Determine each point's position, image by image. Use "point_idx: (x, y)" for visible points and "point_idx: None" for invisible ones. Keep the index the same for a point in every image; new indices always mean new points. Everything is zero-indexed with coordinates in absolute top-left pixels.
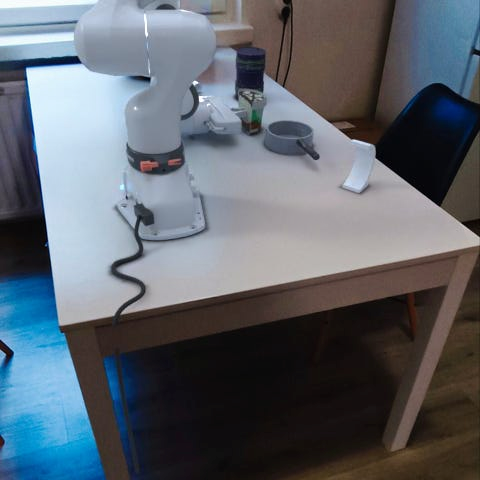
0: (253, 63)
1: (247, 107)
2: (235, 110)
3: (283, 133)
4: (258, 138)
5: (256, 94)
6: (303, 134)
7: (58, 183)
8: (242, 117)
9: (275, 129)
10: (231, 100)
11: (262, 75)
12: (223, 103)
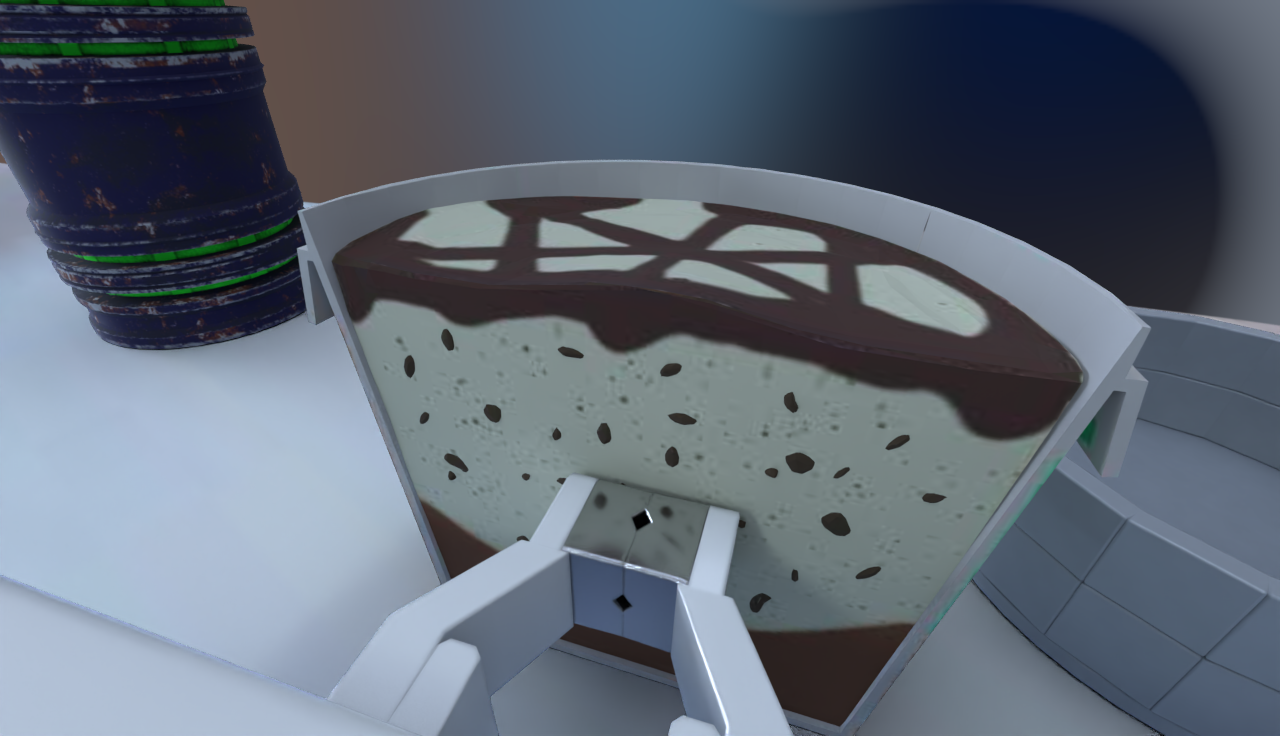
0: (163, 7)
1: (745, 449)
2: (523, 613)
3: None
4: (972, 704)
5: (602, 209)
6: None
7: None
8: None
9: None
10: (89, 373)
11: (271, 120)
12: (142, 721)
